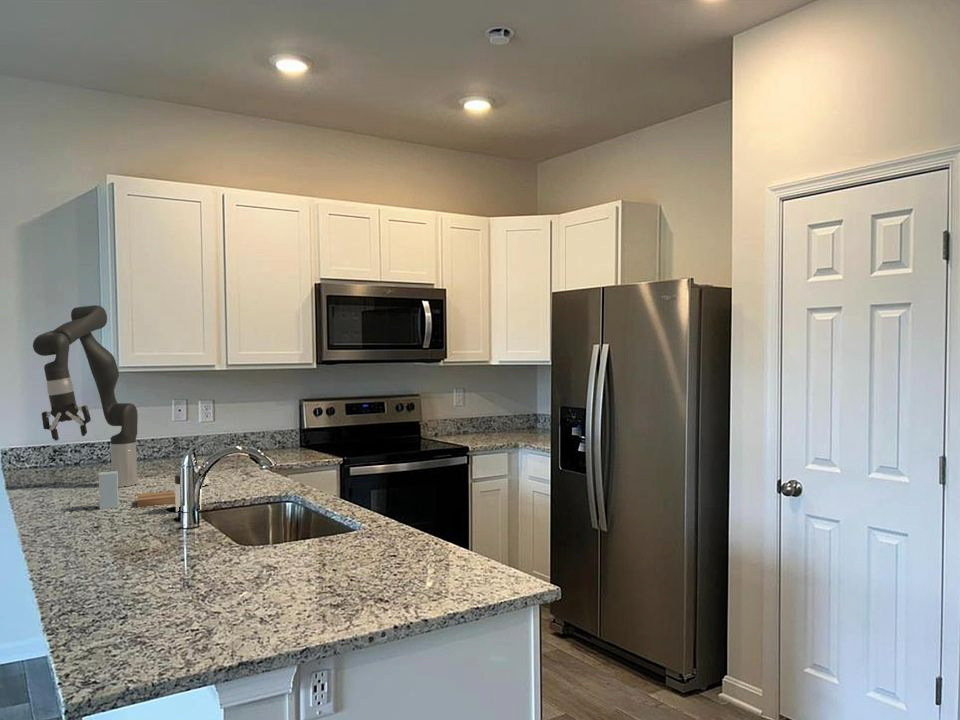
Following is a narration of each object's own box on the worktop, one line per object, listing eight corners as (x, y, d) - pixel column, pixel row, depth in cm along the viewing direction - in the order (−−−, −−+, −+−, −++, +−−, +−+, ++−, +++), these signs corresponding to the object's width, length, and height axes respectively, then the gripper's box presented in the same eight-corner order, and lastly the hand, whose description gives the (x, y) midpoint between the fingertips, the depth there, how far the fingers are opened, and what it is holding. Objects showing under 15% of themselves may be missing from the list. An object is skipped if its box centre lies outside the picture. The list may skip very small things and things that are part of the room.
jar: (201, 511, 239) (200, 475, 238) (175, 513, 236) (173, 477, 236) (202, 505, 247) (201, 471, 247) (176, 508, 244) (175, 473, 244)
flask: (214, 484, 288) (213, 459, 288) (205, 487, 281) (204, 462, 281) (196, 484, 289) (196, 459, 289) (187, 487, 282) (187, 462, 282)
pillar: (101, 506, 250) (99, 472, 250) (118, 504, 252) (117, 470, 252) (99, 509, 245) (98, 474, 245) (117, 507, 247) (116, 473, 247)
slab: (138, 502, 258) (138, 494, 258) (174, 498, 263) (174, 490, 263) (137, 509, 247) (137, 500, 247) (175, 505, 252) (175, 496, 252)
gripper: (86, 387, 250) (95, 432, 252) (41, 393, 247) (51, 439, 249) (80, 390, 243) (89, 436, 245) (34, 396, 239) (43, 443, 241)
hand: (70, 437), depth 247 cm, fingers open, 8 cm apart
